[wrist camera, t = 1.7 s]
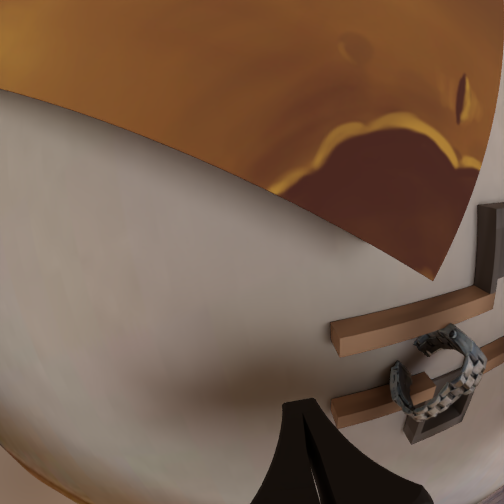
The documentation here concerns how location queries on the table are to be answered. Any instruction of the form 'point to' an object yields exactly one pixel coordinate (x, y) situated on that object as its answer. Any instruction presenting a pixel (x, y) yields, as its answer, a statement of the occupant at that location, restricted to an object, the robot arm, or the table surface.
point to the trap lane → (420, 323)
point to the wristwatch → (452, 390)
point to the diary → (288, 97)
